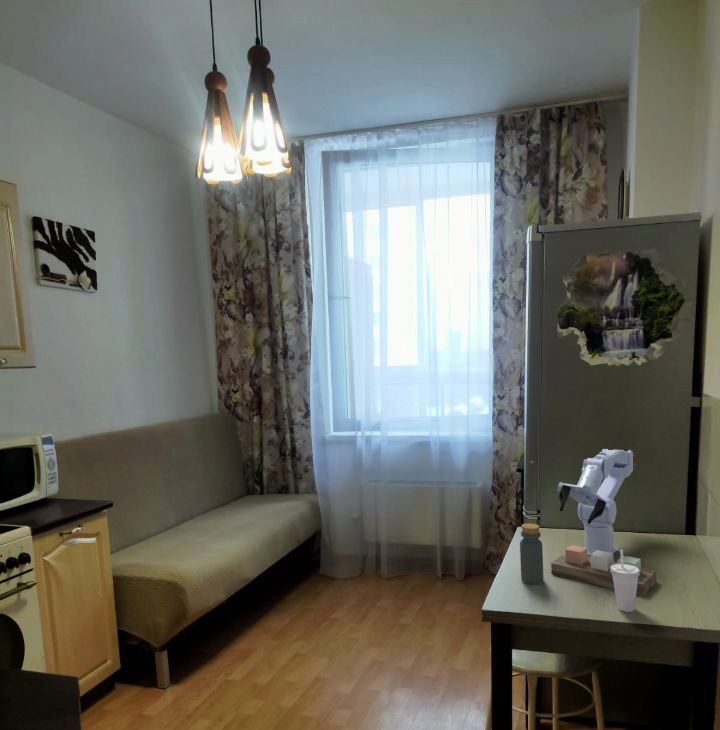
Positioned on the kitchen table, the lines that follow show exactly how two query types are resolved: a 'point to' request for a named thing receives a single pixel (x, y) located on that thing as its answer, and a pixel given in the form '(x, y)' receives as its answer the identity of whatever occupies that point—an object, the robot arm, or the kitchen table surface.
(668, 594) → the kitchen table surface
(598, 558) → the white cube
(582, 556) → the salmon cube
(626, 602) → the smoothie
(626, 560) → the green cube
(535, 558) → the bottle
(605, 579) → the brown wooden tray
